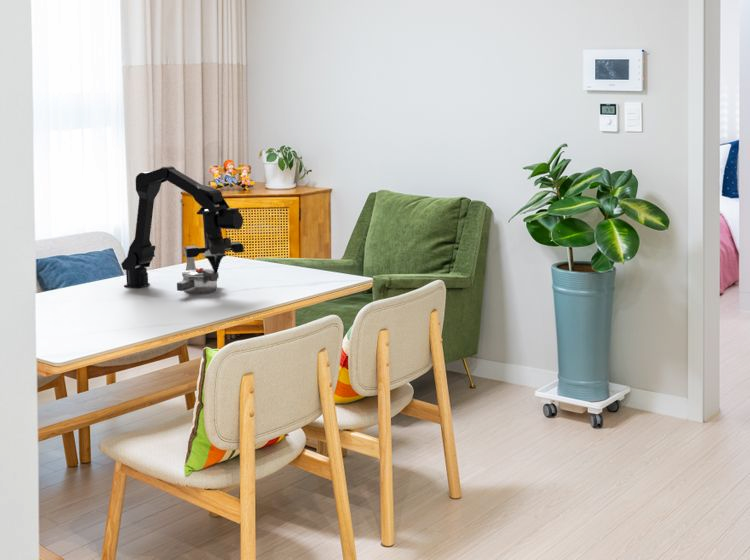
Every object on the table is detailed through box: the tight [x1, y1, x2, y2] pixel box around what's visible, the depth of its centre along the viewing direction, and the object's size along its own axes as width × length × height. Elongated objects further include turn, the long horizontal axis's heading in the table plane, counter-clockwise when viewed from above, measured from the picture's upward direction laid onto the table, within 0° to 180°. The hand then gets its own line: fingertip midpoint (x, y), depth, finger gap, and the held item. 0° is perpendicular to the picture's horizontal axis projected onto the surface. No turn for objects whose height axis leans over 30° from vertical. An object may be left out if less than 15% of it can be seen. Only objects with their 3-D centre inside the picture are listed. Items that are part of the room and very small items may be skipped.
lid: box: [181, 267, 218, 282], centre depth 316 cm, size 18×12×2 cm, turn 33°
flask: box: [181, 256, 197, 281], centre depth 328 cm, size 7×7×10 cm
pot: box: [176, 271, 220, 295], centre depth 317 cm, size 20×11×5 cm, turn 158°
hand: (215, 275), depth 312 cm, fingers closed
